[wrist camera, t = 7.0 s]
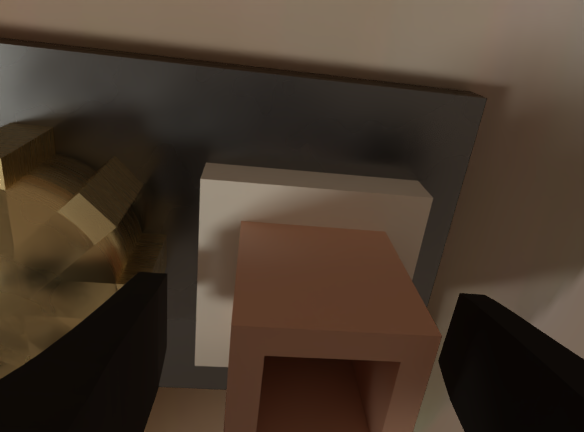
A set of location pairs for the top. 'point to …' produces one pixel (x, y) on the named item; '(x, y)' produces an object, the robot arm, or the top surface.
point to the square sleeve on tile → (313, 299)
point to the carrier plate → (182, 174)
